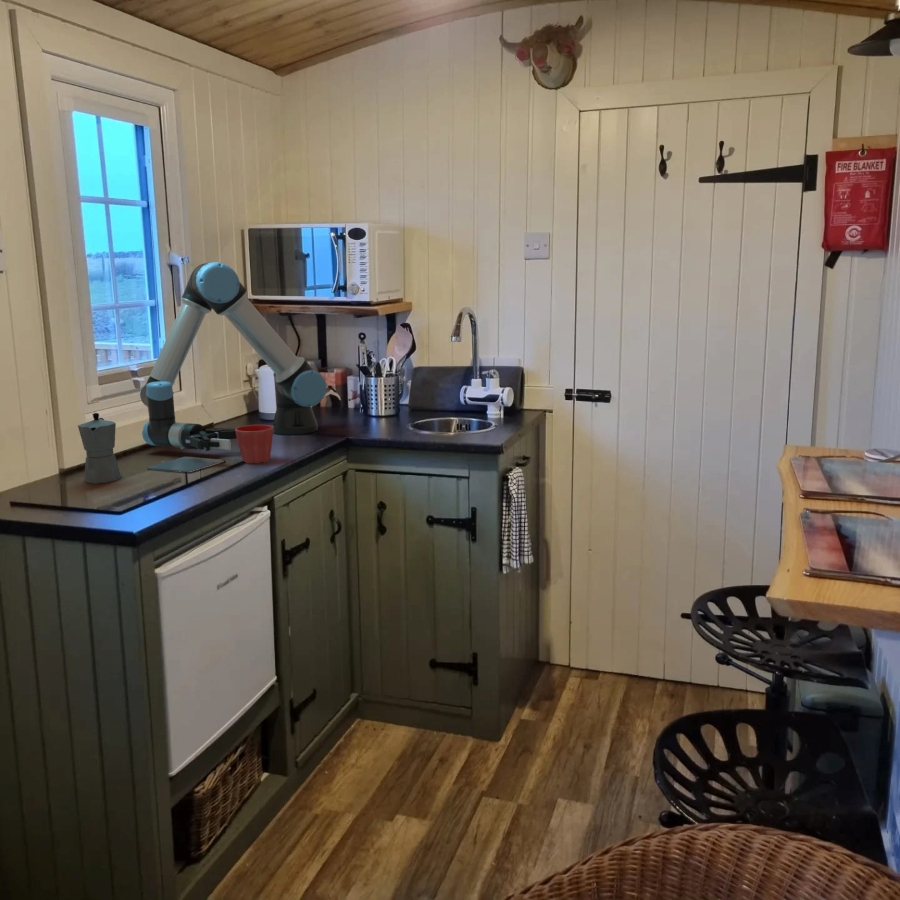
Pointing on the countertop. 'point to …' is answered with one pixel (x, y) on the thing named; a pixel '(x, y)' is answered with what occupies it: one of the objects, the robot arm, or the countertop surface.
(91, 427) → the coffeepot
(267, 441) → the flower pot
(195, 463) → the slate coaster
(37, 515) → the countertop surface
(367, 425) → the countertop surface
